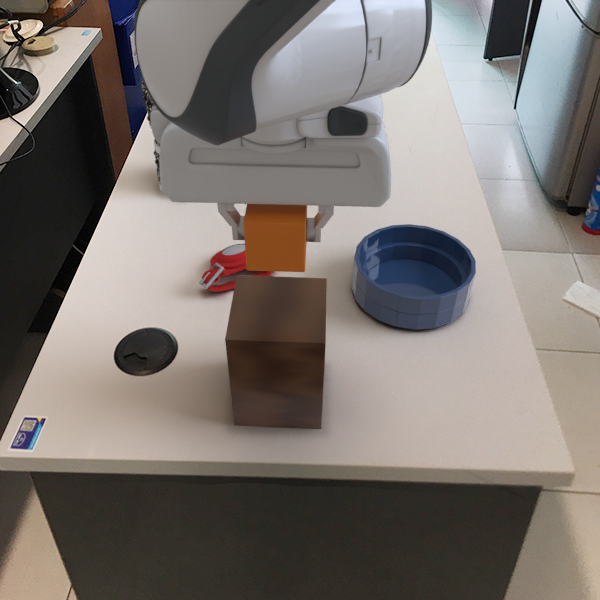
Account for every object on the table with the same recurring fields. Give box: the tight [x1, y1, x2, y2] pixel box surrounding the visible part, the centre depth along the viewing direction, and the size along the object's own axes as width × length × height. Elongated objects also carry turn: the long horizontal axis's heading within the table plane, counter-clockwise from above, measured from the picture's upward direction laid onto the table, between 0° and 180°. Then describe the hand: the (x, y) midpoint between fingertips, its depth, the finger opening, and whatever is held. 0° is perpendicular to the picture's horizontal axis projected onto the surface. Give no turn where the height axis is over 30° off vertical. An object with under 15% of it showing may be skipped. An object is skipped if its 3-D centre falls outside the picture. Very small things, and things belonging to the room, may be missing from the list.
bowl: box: [351, 223, 477, 330], centre depth 87 cm, size 16×16×6 cm
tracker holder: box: [199, 243, 274, 293], centre depth 91 cm, size 12×4×10 cm
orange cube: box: [244, 204, 308, 273], centre depth 59 cm, size 6×6×6 cm
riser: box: [224, 274, 328, 430], centre depth 71 cm, size 10×10×14 cm
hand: (277, 237), depth 60 cm, fingers closed on orange cube, 5 cm apart
